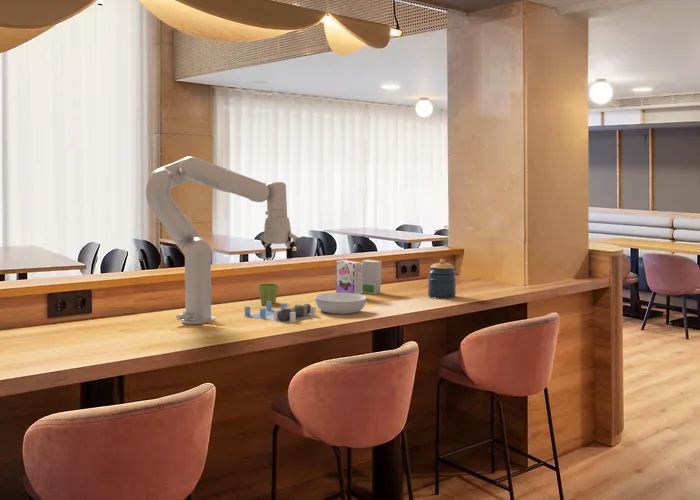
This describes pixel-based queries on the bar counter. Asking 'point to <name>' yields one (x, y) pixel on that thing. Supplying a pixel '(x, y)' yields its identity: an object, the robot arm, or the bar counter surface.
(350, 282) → the candy box
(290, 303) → the bar counter surface
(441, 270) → the canister
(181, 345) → the bar counter surface
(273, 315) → the blue grey peg board
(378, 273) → the skincare box
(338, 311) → the serving bowl
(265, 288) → the plant pot
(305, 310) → the dark grey rounded bar
